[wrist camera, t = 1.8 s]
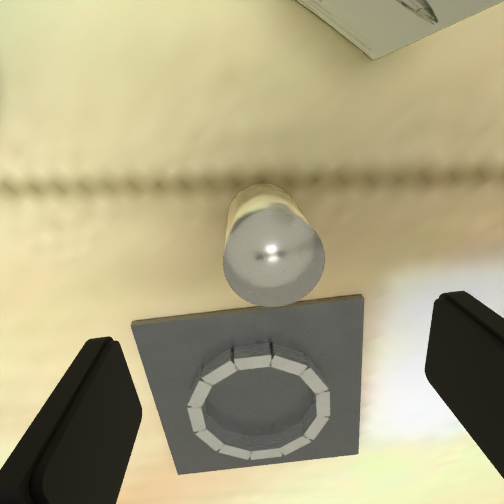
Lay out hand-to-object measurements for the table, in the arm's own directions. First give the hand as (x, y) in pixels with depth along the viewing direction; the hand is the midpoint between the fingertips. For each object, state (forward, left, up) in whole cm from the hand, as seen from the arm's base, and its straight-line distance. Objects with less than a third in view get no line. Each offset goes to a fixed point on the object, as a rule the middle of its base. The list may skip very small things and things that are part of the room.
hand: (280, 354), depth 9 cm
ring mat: (+1, +17, -14) cm, 22 cm away
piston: (-1, 0, -14) cm, 14 cm away
